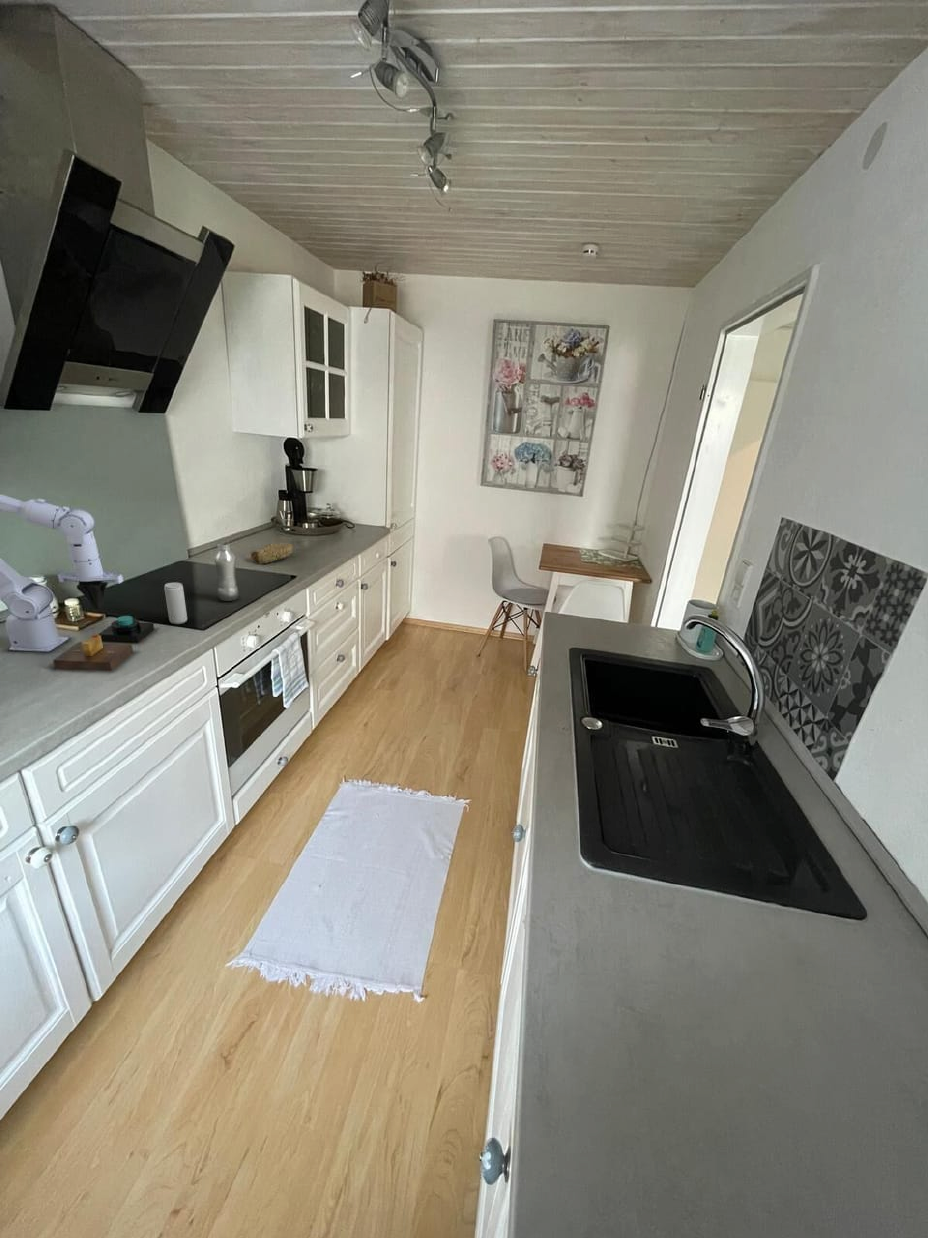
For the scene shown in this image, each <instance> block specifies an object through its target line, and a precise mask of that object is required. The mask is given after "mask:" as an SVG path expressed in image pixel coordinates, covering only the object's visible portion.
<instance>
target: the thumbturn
mask: <svg viewBox="0 0 928 1238" xmlns="http://www.w3.org/2000/svg"><path fill="white" fill-rule="evenodd" d="M82 642H83V643H82V648H83V652H84V656H92V655H94V654H95V653H96V652H98V651H99V650H100V649H102V648H103V645H102V643H103V641H102V640H101V636H100V635H98V634H92V635H91V636H90V637H89V638H87V639H86V640H85V641H82Z"/></svg>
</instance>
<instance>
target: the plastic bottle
mask: <svg viewBox="0 0 928 1238" xmlns="http://www.w3.org/2000/svg"><path fill="white" fill-rule="evenodd" d="M217 550H218V551H217V553H216V554H215V556H214V563H215V567H216V573H217V578H218V581H217V582H218V583H217V585H218V586H217V596H218V598H219V600H220V601H223V602H232V601H236V600H237V599H238V597H239V594H240V593H239V591H240V590H239V588H238V584H237V577H236V564H237V559H236V556H235V554H234V553H233V552H232V551H231V543H230V542H227V541H226V542H225V541H222V542H218V543H217Z"/></svg>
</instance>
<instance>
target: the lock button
mask: <svg viewBox="0 0 928 1238" xmlns="http://www.w3.org/2000/svg"><path fill="white" fill-rule="evenodd" d="M132 618H133V616H131V615H122V616H119V617H117V618H116V620H117V623H118V625H119V626H126V625H131V624H133V619H132Z"/></svg>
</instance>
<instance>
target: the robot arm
mask: <svg viewBox="0 0 928 1238" xmlns="http://www.w3.org/2000/svg"><path fill="white" fill-rule="evenodd" d="M0 512H5V513H10V514H14V515H18V516H20V517H21V518H22V519H23V521H24V522H26V523H29V524H33V525H38V526H40V527H44V528H48V529H51V530H56V531H59V532H60V533H61V534H62V535H63V536H64V537H65V539H66V545H67V547H68V550H69V554H70V559H71V561H72V566H73V569H74V572H61V573H59V574H58V575H57V578H58V581H59V583H65V582H68V583H69V582H70V583H71V582H75V583H78V584H76V589H77V590H78V591H79V592H81V594H82V595H84V596H85V598H86V599H87V600H88V601H89V604H91V606H92V608H93V610H100V609H101V608H103V607H104V600H105V593H106V589H107V586H108V584H116V585H119V584H122V583H123V582H124V578H123V574H120V573H112V572H106V571H104V570H103V566H102V562H101V558H100V554H99V553H100V552H99V549H98V545H97V540H96V538H95V535H94V531H93V528H94V526H95V519H94V517H93V515H91V513H89V512H88V511H86V510H84V509H82V508H74V509H70V507H68V506H59V505H55V504H52V503H48V502H46V500H45V499H43V498H37V499H35V498H34V499H32V498H31V499H29V500H26V501H23V500H20V499H17V498H13V497H11V496H7V495H5V494H2V493H0ZM54 596H55V595H54V593H53V591H52V590H51V589H50V587H48V586H46V585H44V584H41V583H38V582H37V581H36V580H34V579H33V578H31V577H27V576H23V575H21V574H20V573H18V572H17V571H16V570H15V569H14V568H12V566H11V565H9V564H8V563H6V561H4V560H3V559H2V558H1V557H0V601H1V602H2V603H3V604H4V605H5V606H6V608H7V610H8V612H9V613H10V615H8V617H7V618H6V619H5V631H6V633H7V637H8V639H9V643H10V647H9V651H21V652H22V651H23V652H40V653H41V652H44V653H48V652H51V651H52V650H54V649H56V648H57V647H59V646H60V645H62V644H63V643H65V642H67V641H68V640H69V637H68V636H59V631H58V626H57V623H56V619H55V616H54V612H53V609H52V606H51V604H52V603H53V601H54V599H55V597H54Z"/></svg>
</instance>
